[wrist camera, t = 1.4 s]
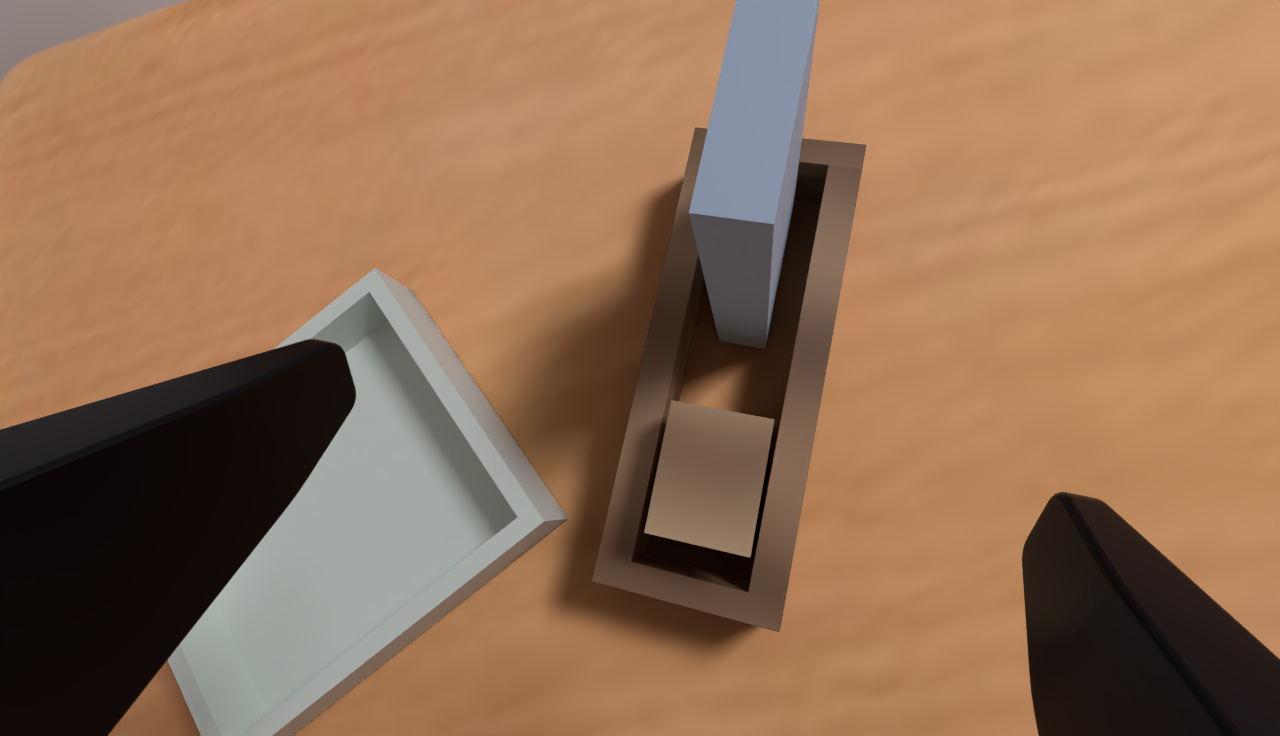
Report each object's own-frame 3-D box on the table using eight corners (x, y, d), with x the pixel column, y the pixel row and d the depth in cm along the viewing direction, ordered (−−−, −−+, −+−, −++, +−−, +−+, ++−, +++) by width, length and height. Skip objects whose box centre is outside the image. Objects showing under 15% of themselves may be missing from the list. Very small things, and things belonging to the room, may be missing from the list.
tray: (279, 745, 21) (219, 777, 19) (160, 493, 24) (93, 493, 22) (568, 518, 21) (543, 521, 19) (412, 291, 24) (374, 268, 22)
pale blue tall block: (766, 349, 21) (773, 224, 11) (719, 340, 21) (688, 212, 12) (792, 212, 22) (820, -12, 12) (747, 206, 22) (740, -16, 13)
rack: (776, 615, 19) (779, 632, 17) (611, 571, 20) (591, 581, 18) (853, 184, 22) (866, 144, 19) (701, 166, 23) (694, 127, 20)
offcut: (750, 550, 18) (750, 557, 16) (656, 528, 19) (644, 532, 16) (771, 428, 19) (774, 419, 16) (680, 411, 19) (671, 399, 17)
